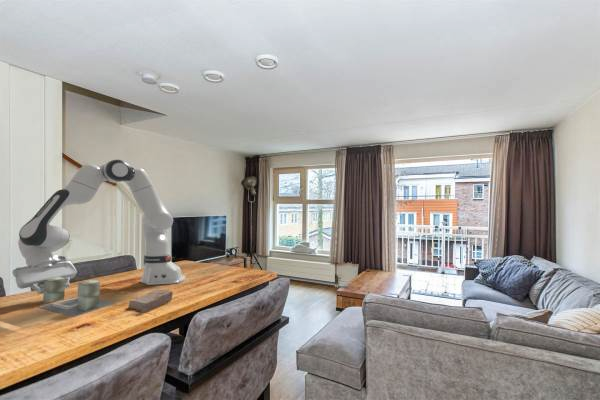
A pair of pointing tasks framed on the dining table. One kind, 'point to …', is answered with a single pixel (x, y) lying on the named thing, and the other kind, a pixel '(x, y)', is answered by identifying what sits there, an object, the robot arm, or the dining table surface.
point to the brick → (151, 300)
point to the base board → (72, 307)
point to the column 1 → (53, 289)
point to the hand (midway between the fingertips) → (55, 289)
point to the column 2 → (88, 295)
